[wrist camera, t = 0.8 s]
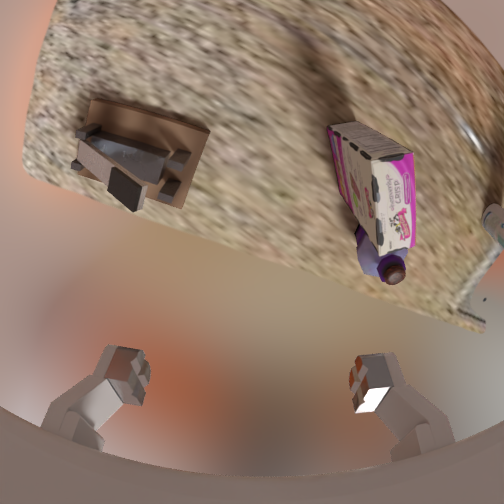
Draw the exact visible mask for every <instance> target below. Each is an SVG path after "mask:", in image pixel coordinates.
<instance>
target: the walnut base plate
mask: <svg viewBox="0 0 504 504" xmlns="http://www.w3.org/2000/svg"><path fill="white" fill-rule="evenodd" d="M91 123H96V124H100V125H102V127H101V131H106V132H109V133H113V134H116V135H119V136H123V137H126V138H130V139H133V140H136V141H139V142H143V143H146V144H149V145H152V146H155V147H159V148H162V149H165V150H168V151H171V153H170V156H169V158H170V157H171V156H172V155H173V154H174V152H175V151H176V150H177V149H178V148H179V149H182V150H185V151H188V152H191V153H192V154H191V157H190V159H189V161H188V163H187V164H186V166H185V167H184V169H183V170H182V172H180V171H178V170H175V169H172V168H169V167H166V169H165V172H164V176H163V178H162V179H161V181H160V182H159V183H158V185H155V184H152V183H149V182H146V181H143V180H142V181H143V182H144V183H146V184H147V185H148V187H147V191H146V195H145V197H147V198H150V199H153V200H156V201H159V202H162V203H165V204H168V205H170V206H173V207H176V208H179V209H182V207H183V204H184V202H185V199H186V196H187V193H188V190H189V187H190V184H191V182H192V179H193V176H194V173H195V170H196V168H197V165H198V162H199V160H200V157H201V154H202V152H203V149H204V146H205V144H206V141H207V139H208V136H209V134H210V131H208V130H205V129H202V128H200V127H197V126H194V125H191V124H188V123H185V122H182V121H178V120H175V119H172V118H169V117H166V116H162V115H159V114H156V113H152V112H149V111H145V110H142V109H138V108H135V107H131V106H127V105H123V104H120V103H116V102H112V101H108V100H103V99H99V98H96V99H93V100H91V102H90V107H89V111H88V115H87V120H86V125H85V126H87V125H89V124H91ZM91 138H92V136H91V137H89V138H88V139H86V140H87V141H89V142H90V143H91ZM168 160H169V159H168ZM78 175H81V176H84V177H87V178H91V179H94V180H97V181H100V182H102V181H101V180H100V179H98V178H97V177H96V176H95V175H94V174H93V173H91V172H90V171H89V170H88V169H87V168H86V167H85V168H84V169H82V170H81V171H78ZM168 178H172V179H174V180H177V181H180V182H182V183H181V186H180V189H179V190H178V192H177V194H176V196H175V198H174V200H173V202H172V204H171V203H168V202H165V201H162V200H159V199H157V197H158V193H159V191H160V190H161V188H162V187H163V185H164V184H165V182H166V181H167V179H168Z"/></svg>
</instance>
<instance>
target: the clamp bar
mask: <svg viewBox="0 0 504 504" xmlns="http://www.w3.org/2000/svg"><path fill="white" fill-rule="evenodd" d="M77 160H78V161H79V162H80V163H81V164H82V165H83V166H84V167H86V168H87V169H88V170H89V171H90V172H91V173H93V174H94V175H95V176H96V177H97V178H98V179H100V180H101V181H102V182H103V183H104V184H105V185H107V186H108V189H107V191H108V192H109V193H111V194H112V195H113V196H114V197H115V198H116V199H118V200H119V201H120V202H121V203H122V204H124V205H125V206H126V207H127V208H128V209H129V210H131V211H132V212H135V211H138V210H141V209H142V208H143V204H144V199H145V195H146V191H147V187H148V185H147V184H146V183H144V182H143V181H142V180H140V179H139V178H138V177H136V176H135V175H133V174H132V173H131V172H129V171H128V170H127V169H125V168H124V167H123V166H121V165H120V164H118V163H117V162H116V161H114V160H113V159H112V158H110V157H109V156H108V155H106V154H105V153H104V152H102V151H101V150H100V149H98V148H97V147H95V146H94V145H93V144H91V143H90V142H89V141H87V140H83V139H80V143H79V149H78V156H77Z"/></svg>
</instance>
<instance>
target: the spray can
mask: <svg viewBox="0 0 504 504" xmlns="http://www.w3.org/2000/svg"><path fill="white" fill-rule="evenodd" d="M482 226H483V227H484V228H485V230H486V231H487V232H488V233H489V234H490V235H491V236H492V237H493V238H494V239H495V240H496V241H497V242H498V243H499V245H500V246H501V247H502V248H503V249H504V209H503V208H502V207H501V206H500V205H498V204H496V203H493V204H491V205H489V206H488V207H487V208H486V210H485V211H484V213H483V216H482Z"/></svg>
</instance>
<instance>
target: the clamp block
mask: <svg viewBox="0 0 504 504" xmlns="http://www.w3.org/2000/svg"><path fill="white" fill-rule="evenodd" d="M101 127H102V125H100V124H96V123H91V124H89V125H87V126H84V127H82V128H80V129H78V130H76V136H75V137H76V138H79V139H83V140H86V139H88V138H89V137H91V136H92V138H91V144H93V145H94V146H95V147H97V148H98V149H100V150H101V151H102V152H104V153H105V154H106V155H108V156H109V157H110V158H112V159H113V160H114V161H116V162H117V163H118V164H120V165H121V166H123V167H124V168H125V169H127V170H128V171H129V172H131V173H132V174H133V175H135V176H136V177H138V178H139V179H140V180H143V181H146V182H149V183H152V184H155V185H158V183H159V182H160V181H161V179H162V178H163V176H164V172H165V169H166V167H169V168H172V169H175V170H178V171H180V172H182V170H183V169H184V167H185V166H186V164H187V163H188V161H189V159H190V157H191V154H192V153H191V152H188V151H185V150H182V149H179V148H178V149H177V150H176V151H175V152H174V154H173V155H172V156H171V157H170V158H169V156H170V153H171V151H168V150H165V149H162V148H159V147H155V146H152V145H149V144H146V143H143V142H139V141H136V140H133V139H130V138H126V137H123V136H119V135H116V134H113V133H109V132H106V131H101ZM168 159H169V160H168ZM84 168H85V167H84V166H83V165H82V164H81V163H80V162H79V161H78V160H77V159H75V160H74V161H72V163H71V169H74V170H77V171H81V170H82V169H84ZM181 183H182V182H180V181H177V180H174V179H172V178H168V179H167V181H166V182H165V184H164V185H163V187H162V188H161V190H160V191H159V193H158V197H157V199H159V200H162V201H165V202H168V203H171V204H172V202H173V200H174V198H175V196H176V194H177V192H178V190H179V189H180V186H181Z"/></svg>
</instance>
